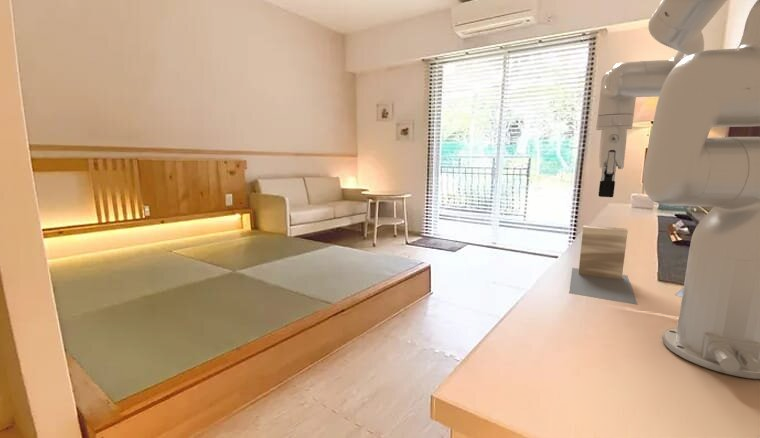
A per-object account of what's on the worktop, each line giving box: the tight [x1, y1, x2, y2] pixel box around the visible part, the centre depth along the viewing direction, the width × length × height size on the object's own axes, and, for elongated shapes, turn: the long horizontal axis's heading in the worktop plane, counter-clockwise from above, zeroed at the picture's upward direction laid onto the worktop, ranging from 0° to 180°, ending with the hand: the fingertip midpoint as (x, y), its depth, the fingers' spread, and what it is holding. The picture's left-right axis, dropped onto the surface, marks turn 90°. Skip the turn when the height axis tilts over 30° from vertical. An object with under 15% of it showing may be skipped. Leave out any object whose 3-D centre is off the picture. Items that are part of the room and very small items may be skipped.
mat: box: [568, 267, 639, 305], centre depth 81 cm, size 21×12×1 cm, turn 150°
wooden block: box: [578, 224, 628, 280], centre depth 86 cm, size 3×9×12 cm, turn 60°
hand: (605, 196), depth 90 cm, fingers closed
